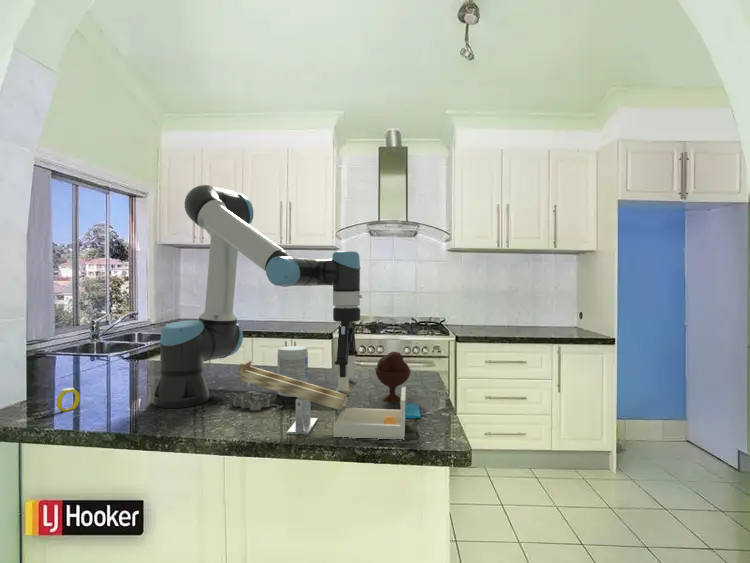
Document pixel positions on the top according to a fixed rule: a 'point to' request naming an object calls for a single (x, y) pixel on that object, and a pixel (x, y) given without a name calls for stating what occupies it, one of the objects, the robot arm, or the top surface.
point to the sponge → (412, 410)
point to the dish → (371, 422)
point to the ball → (390, 420)
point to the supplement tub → (293, 363)
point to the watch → (59, 399)
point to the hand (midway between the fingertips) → (347, 383)
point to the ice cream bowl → (392, 373)
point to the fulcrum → (302, 418)
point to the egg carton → (252, 400)
